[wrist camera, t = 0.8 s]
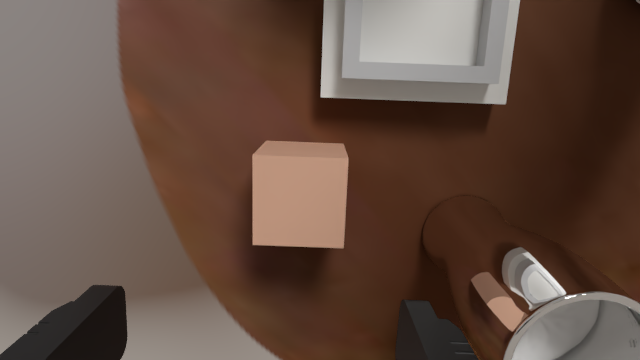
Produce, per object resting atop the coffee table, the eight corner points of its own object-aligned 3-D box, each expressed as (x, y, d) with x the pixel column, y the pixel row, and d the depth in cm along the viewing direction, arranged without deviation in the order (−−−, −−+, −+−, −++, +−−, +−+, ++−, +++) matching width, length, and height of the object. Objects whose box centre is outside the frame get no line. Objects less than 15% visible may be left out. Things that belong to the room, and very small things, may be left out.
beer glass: (403, 208, 31) (476, 322, 16) (495, 175, 30) (656, 262, 16) (432, 289, 32) (522, 460, 18) (520, 258, 32) (689, 410, 17)
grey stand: (518, -92, 26) (547, -117, 23) (493, 103, 29) (516, 105, 26) (327, -99, 26) (328, -126, 23) (320, 96, 29) (320, 98, 26)
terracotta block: (343, 143, 30) (348, 158, 24) (339, 217, 31) (343, 248, 25) (266, 140, 30) (252, 155, 24) (265, 214, 31) (252, 244, 25)
